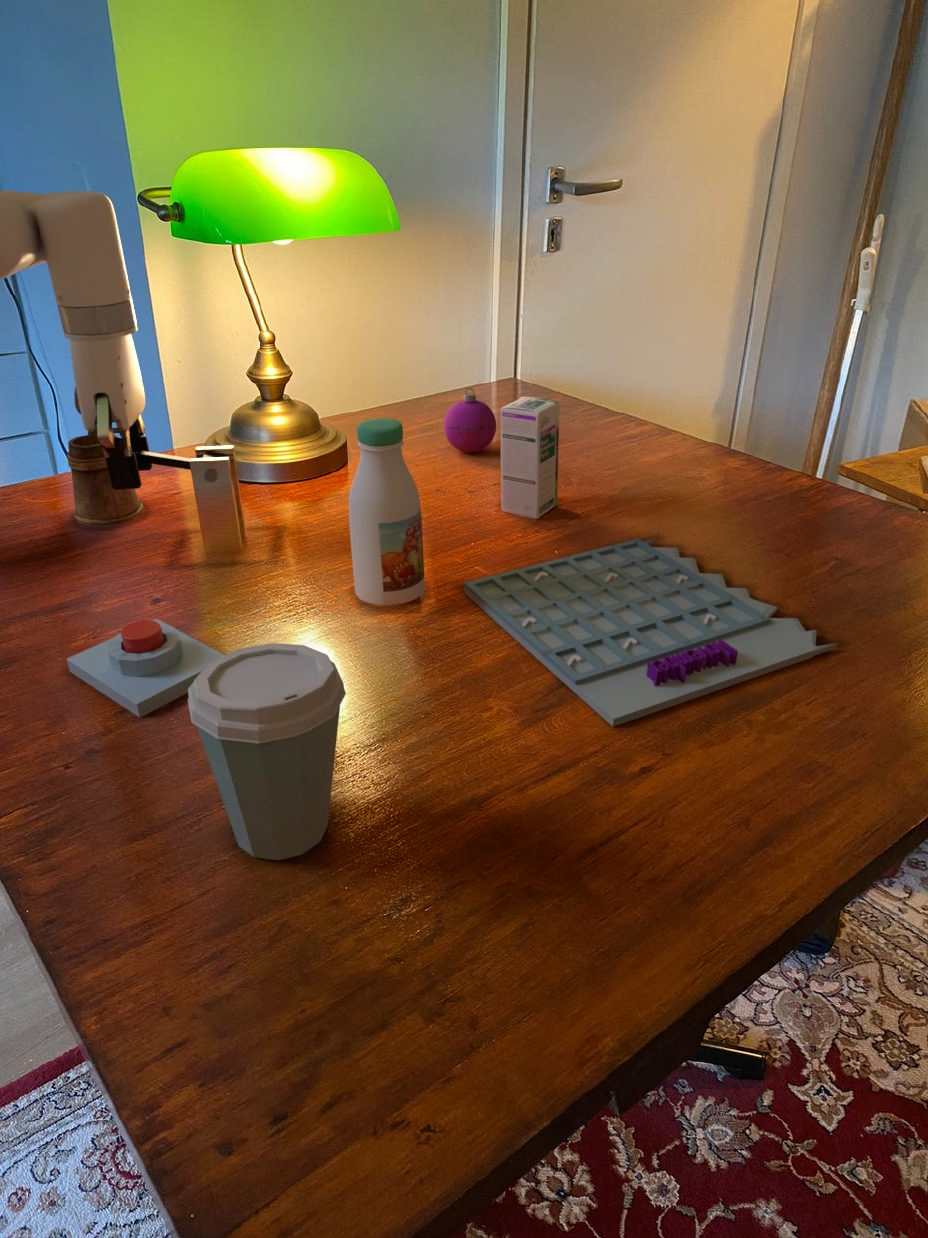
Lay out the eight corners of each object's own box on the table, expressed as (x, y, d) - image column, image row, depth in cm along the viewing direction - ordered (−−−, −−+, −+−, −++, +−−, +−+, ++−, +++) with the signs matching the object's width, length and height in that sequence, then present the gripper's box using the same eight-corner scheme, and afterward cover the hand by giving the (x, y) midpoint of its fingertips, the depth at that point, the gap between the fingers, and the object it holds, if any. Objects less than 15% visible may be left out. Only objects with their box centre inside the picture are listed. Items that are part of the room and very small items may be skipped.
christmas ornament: (444, 460, 139) (442, 395, 135) (444, 442, 147) (443, 381, 142) (497, 459, 139) (497, 395, 135) (495, 442, 147) (495, 380, 142)
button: (117, 646, 86) (113, 630, 85) (150, 631, 88) (146, 615, 87) (138, 659, 84) (135, 643, 83) (171, 643, 86) (168, 627, 85)
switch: (113, 470, 103) (114, 450, 102) (124, 455, 107) (124, 436, 106) (222, 486, 105) (224, 467, 104) (228, 471, 109) (230, 452, 108)
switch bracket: (170, 573, 107) (150, 470, 101) (185, 538, 116) (167, 441, 110) (272, 568, 108) (259, 465, 102) (280, 533, 117) (268, 437, 110)
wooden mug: (157, 493, 129) (133, 366, 120) (138, 532, 118) (110, 394, 109) (93, 496, 128) (63, 369, 120) (67, 536, 117) (32, 397, 108)
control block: (71, 677, 88) (61, 642, 86) (160, 636, 95) (153, 602, 93) (141, 724, 81) (132, 687, 79) (232, 676, 88) (226, 640, 86)
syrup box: (538, 520, 119) (541, 412, 112) (499, 511, 122) (499, 405, 115) (557, 505, 123) (561, 400, 116) (519, 497, 126) (521, 394, 119)
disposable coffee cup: (193, 824, 70) (158, 659, 62) (318, 771, 75) (300, 613, 68) (249, 910, 62) (216, 735, 55) (384, 845, 68) (371, 677, 60)
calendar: (659, 543, 113) (661, 525, 112) (838, 648, 91) (842, 627, 89) (463, 593, 102) (463, 574, 101) (611, 727, 80) (613, 704, 79)
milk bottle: (357, 618, 97) (342, 438, 87) (353, 585, 104) (339, 414, 94) (429, 611, 98) (422, 432, 88) (420, 579, 105) (413, 409, 95)
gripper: (84, 304, 104) (118, 455, 113) (37, 338, 90) (80, 509, 99) (151, 302, 105) (179, 452, 114) (114, 335, 90) (150, 505, 99)
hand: (132, 477), depth 106 cm, fingers closed on switch, 5 cm apart
